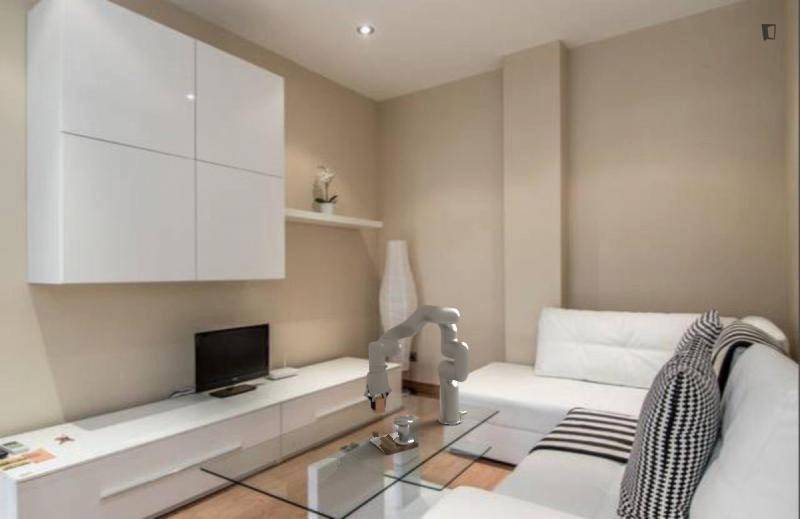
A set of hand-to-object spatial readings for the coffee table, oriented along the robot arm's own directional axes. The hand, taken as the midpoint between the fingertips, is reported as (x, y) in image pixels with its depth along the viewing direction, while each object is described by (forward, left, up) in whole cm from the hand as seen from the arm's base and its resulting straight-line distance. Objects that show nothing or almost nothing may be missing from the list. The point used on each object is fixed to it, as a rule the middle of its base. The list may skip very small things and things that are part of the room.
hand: (378, 408), depth 207 cm
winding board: (-5, +4, -16) cm, 18 cm away
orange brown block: (0, 0, -2) cm, 2 cm away
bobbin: (-9, +8, -15) cm, 19 cm away
